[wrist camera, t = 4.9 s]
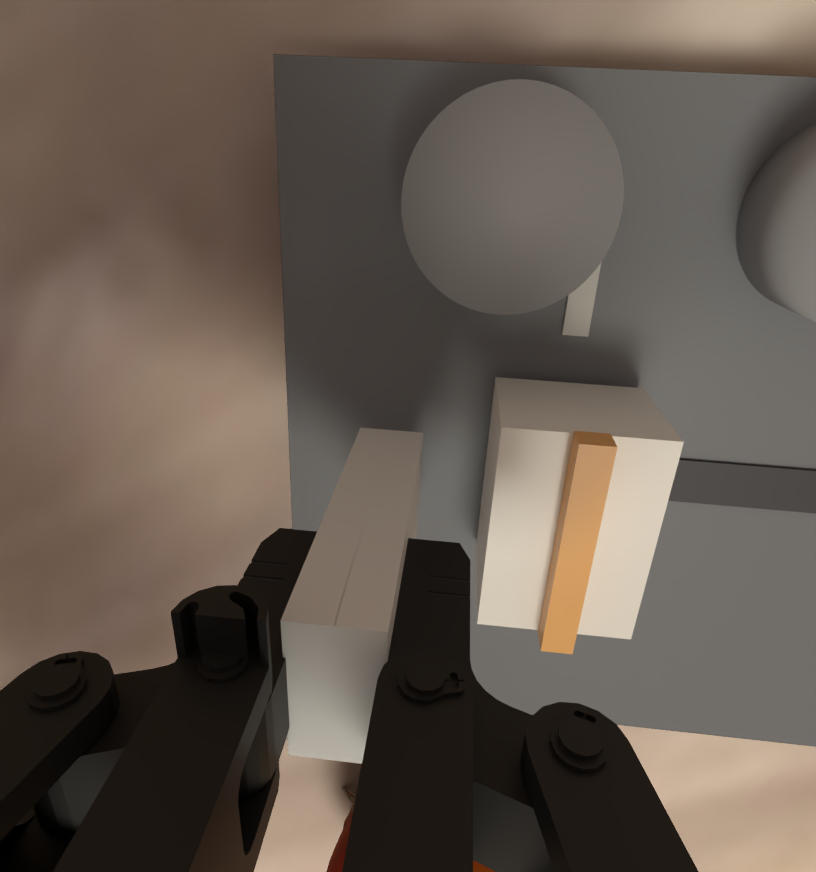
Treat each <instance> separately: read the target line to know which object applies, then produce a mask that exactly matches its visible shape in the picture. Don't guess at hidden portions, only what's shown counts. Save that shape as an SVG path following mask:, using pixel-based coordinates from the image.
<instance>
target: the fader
mask: <svg viewBox="0 0 816 872" xmlns="http://www.w3.org/2000/svg"><path fill="white" fill-rule="evenodd" d="M683 444H684V441H683V440H682V439H681V437H680V436H679V435H678V433H677V432H676V431H675V429H674V428H673V427H672V425H671V424H670V423H669V422H668V420H667V419H666V418H665V416H664V415H663V414H662V412H661V411H660V410H659V408H658V407H657V406H656V404H655V403H654V402H653V400H652V399H651V398H650V396H649V395H648V394H647V392H646V391H645V390H644V389H643V388H635V387H621V386H608V385H595V384H581V383H568V382H555V381H541V380H528V379H515V378H502V377H495V386H494V395H493V403H492V412H491V421H490V429H489V438H488V447H487V455H486V464H485V473H484V481H483V490H482V499H481V508H480V516H479V525H478V534H477V542H476V587H477V624H483V625H492V626H502V627H512V628H522V629H532V630H538V637H539V644H540V650H541V651H545V652H554V653H564V654H573V650H574V645H575V641H576V636H577V634H581V635H591V636H601V637H611V638H621V639H631V638H632V634H633V630H634V626H635V623H636V619H637V615H638V612H639V608H640V604H641V600H642V597H643V593H644V589H645V585H646V582H647V578H648V574H649V570H650V567H651V563H652V559H653V556H654V552H655V548H656V544H657V541H658V537H659V533H660V529H661V526H662V522H663V518H664V514H665V511H666V507H667V503H668V500H669V496H670V492H671V488H672V485H673V481H674V477H675V473H676V470H677V466H678V462H679V458H680V455H681V451H682V447H683Z"/></svg>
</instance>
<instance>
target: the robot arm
mask: <svg viewBox="0 0 816 872" xmlns="http://www.w3.org/2000/svg"><path fill="white" fill-rule="evenodd" d="M422 446H423V433H422V432H410V431H397V430H385V429H372V428H360V429H359V432H358V434H357V437H356V439H355V441H354V444H353V446H352V449H351V451H350V454H349V456H348V458H347V461H346V463H345V466H344V468H343V470H342V473H341V475H340V478H339V480H338V483H337V485H336V487H335V490H334V492H333V495H332V497H331V500H330V502H329V504H328V507H327V509H326V512H325V514H324V516H323V519H322V521H321V524H320V526H319V529H318V531H306V530H295V529H284V528H279V529H278V530H277V531H276V532H274V533H273V534H272V535H270V536H269V537H268V538H266V539H265V540H264V541H262V542H261V544H260V546H259V548H258V549H257V551H256V553H255V555H254V557H253V559H252V562H251V564H249V566H248V568H247V570H246V571H245V573H244V577H243V579H241V580H240V582H239V584H238V586H236V585H231V586H215V587H211V588H208V589H204V590H200V591H198V592H196V593H194V594H192V595H190V596H189V597H187V598H185V599H183V600H182V601H181V602H180V603H179V604H178V605H177V606H176V607H175V608H174V609H173V610H172V611H171V617H172V623H173V629H174V636H175V642H176V648H177V655H178V658H177V660H176V662H175V663H172V664H170V665H167V666H163V667H159V668H154V669H149V670H142V671H135V672H129V673H122V674H116V675H114V673H113V670H112V668H111V665H110V663H109V661H108V660H106V659H105V658H103V657H102V656H100V655H99V654H97V653H90V652H83V651H78V652H71V653H64V654H59V655H56V656H54V657H51V658H48V659H46V660H43V661H41V662H39V663H37V664H35V665H34V666H32V667H31V668H29V669H28V670H26V671H25V672H23V673H22V674H20V675H19V676H18V677H17V678H15V679H14V680H13V681H12V682H10V683H9V684H8V685H7V686H6V687H4V688H3V689H2V690H1V691H0V872H254V868H255V865H256V862H257V858H258V855H259V852H260V849H261V845H262V842H263V839H264V835H265V832H266V829H267V825H268V822H269V819H270V816H271V812H272V809H273V806H274V802H275V799H276V796H277V792H278V787H279V776H280V774H279V758H280V755H281V752H282V749H283V746H284V743H285V740H286V737H287V739H288V755H292V756H300V757H309V758H317V759H326V760H334V761H342V762H351V763H359V764H362V766H361V772H360V777H359V783H358V788H357V793H356V799H355V804H354V810H353V815H352V820H351V826H350V831H349V837H348V842H347V848H346V853H345V858H344V864H343V869H342V872H473V860H474V861H476V862H478V863H480V864H482V865H484V866H486V867H488V868H490V869H491V870H493V871H495V872H698V870H697V868H696V866H695V864H694V863H693V861H692V859H691V857H690V855H689V853H688V851H687V849H686V848H685V846H684V844H683V842H682V840H681V838H680V836H679V834H678V833H677V831H676V829H675V827H674V825H673V823H672V821H671V819H670V818H669V816H668V814H667V812H666V810H665V808H664V806H663V804H662V803H661V801H660V799H659V797H658V795H657V793H656V791H655V789H654V788H653V786H652V784H651V782H650V780H649V778H648V776H647V774H646V773H645V771H644V769H643V767H642V765H641V763H640V761H639V759H638V758H637V756H636V754H635V752H634V750H633V748H632V746H631V744H630V743H629V741H628V739H627V738H626V737H625V735H624V734H623V733H622V731H621V730H620V729H619V727H618V726H617V725H616V724H615V723H614V722H613V721H611V720H610V719H609V718H607V717H606V716H605V715H603V714H602V713H601V712H599V711H597V710H595V709H592V708H590V707H587V706H584V705H582V704H579V703H568V702H557V703H553V704H550V705H546V706H543V707H542V708H540V709H539V710H538V711H537V712H536V713H535V714H534V715H531V714H528V713H526V712H523V711H521V710H518V709H516V708H513V707H511V706H509V705H507V704H505V703H503V702H501V701H499V700H497V699H496V698H494V697H493V696H492V695H491V694H489V693H488V692H487V691H485V689H484V688H483V687H482V686H481V685H480V683H479V682H478V681H477V679H476V677H475V675H474V673H473V671H472V668H471V662H470V559H469V557H468V556H467V554H466V552H465V551H464V549H463V548H462V546H461V544H460V543H455V542H444V541H433V540H423V539H416V536H417V529H418V512H419V496H420V479H421V462H422Z"/></svg>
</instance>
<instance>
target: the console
mask: <svg viewBox="0 0 816 872" xmlns="http://www.w3.org/2000/svg"><path fill="white" fill-rule="evenodd" d="M273 56H274V81H275V106H276V131H277V156H278V181H279V206H280V231H281V256H282V280H283V305H284V330H285V355H286V380H287V405H288V430H289V455H290V480H291V505H292V529H295V530H306V531H318V529H319V526H320V524H321V521H322V519H323V516H324V514H325V512H326V509H327V507H328V504H329V502H330V500H331V497H332V495H333V492H334V490H335V487H336V485H337V483H338V480H339V478H340V475H341V473H342V470H343V468H344V466H345V463H346V461H347V458H348V456H349V454H350V451H351V449H352V446H353V444H354V441H355V439H356V437H357V434H358V432H359V429H360V428H372V429H385V430H397V431H410V432H422V433H423V446H422V462H421V479H420V496H419V512H418V529H417V536H416V539H423V540H433V541H444V542H455V543H460V544H461V546H462V548H463V549H464V551H465V552H466V554H467V556H468V557H469V559H470V662H471V668H472V671H473V673H474V675H475V677H476V679H477V681H478V682H479V683H480V685H481V686H482V687H483V688H484V689H485V691H487V692H488V693H489V694H491V695H492V696H493V697H494V698H496V699H497V700H499V701H501V702H503V703H505V704H507V705H509V706H511V707H513V708H516V709H518V710H521V711H523V712H526V713H528V714H531V715H534V714H535V713H536V712H537V711H538V710H539V709H540V708H542V707H543V706H546V705H550V704H553V703H557V702H568V703H579V704H582V705H584V706H587V707H590V708H592V709H595V710H597V711H599V712H601V713H602V714H603V715H605V716H606V717H607V718H609V719H610V720H611V721H613V722H614V723H615V724H616V725H624V726H634V727H643V728H652V729H661V730H670V731H679V732H688V733H697V734H706V735H715V736H724V737H733V738H742V739H751V740H760V741H770V742H779V743H788V744H797V745H806V746H815V747H816V77H798V76H775V75H751V74H728V73H704V72H680V71H657V70H633V69H609V68H586V67H562V66H539V65H515V64H491V63H468V62H444V61H421V60H397V59H373V58H350V57H326V56H302V55H279V54H273ZM495 377H502V378H515V379H528V380H541V381H555V382H568V383H581V384H595V385H608V386H621V387H635V388H643V389H644V390H645V391H646V392H647V394H648V395H649V396H650V398H651V399H652V400H653V402H654V403H655V404H656V406H657V407H658V408H659V410H660V411H661V412H662V414H663V415H664V416H665V418H666V419H667V420H668V422H669V423H670V424H671V425H672V427H673V428H674V429H675V431H676V432H677V433H678V435H679V436H680V437H681V439H682V440H683V441H684V444H683V447H682V451H681V455H680V458H679V462H678V466H677V470H676V473H675V477H674V481H673V485H672V488H671V492H670V496H669V500H668V503H667V507H666V511H665V514H664V518H663V522H662V526H661V529H660V533H659V537H658V541H657V544H656V548H655V552H654V556H653V559H652V563H651V567H650V570H649V574H648V578H647V582H646V585H645V589H644V593H643V597H642V600H641V604H640V608H639V612H638V615H637V619H636V623H635V626H634V630H633V634H632V638H631V639H621V638H611V637H601V636H591V635H581V634H577V636H576V641H575V645H574V650H573V654H564V653H554V652H545V651H541V650H540V644H539V637H538V630H532V629H522V628H512V627H502V626H492V625H483V624H477V587H476V542H477V534H478V525H479V516H480V508H481V499H482V490H483V481H484V473H485V464H486V455H487V447H488V438H489V429H490V421H491V412H492V403H493V395H494V386H495Z"/></svg>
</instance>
